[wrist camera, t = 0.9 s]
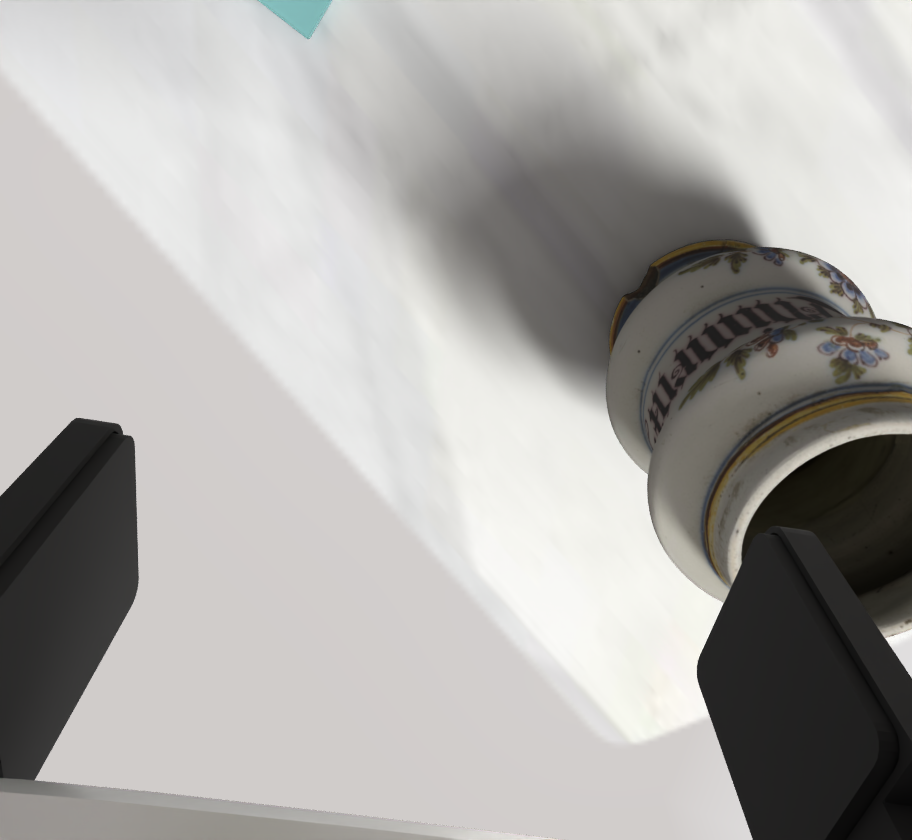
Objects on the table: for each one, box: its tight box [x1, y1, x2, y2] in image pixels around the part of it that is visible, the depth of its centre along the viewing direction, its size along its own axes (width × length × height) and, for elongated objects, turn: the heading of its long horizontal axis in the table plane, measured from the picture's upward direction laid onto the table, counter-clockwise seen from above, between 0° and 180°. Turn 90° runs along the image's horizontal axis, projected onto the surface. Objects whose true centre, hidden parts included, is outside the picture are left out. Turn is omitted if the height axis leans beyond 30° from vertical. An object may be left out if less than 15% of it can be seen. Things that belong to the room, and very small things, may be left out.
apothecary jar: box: [606, 240, 912, 638], centre depth 31 cm, size 12×12×18 cm
